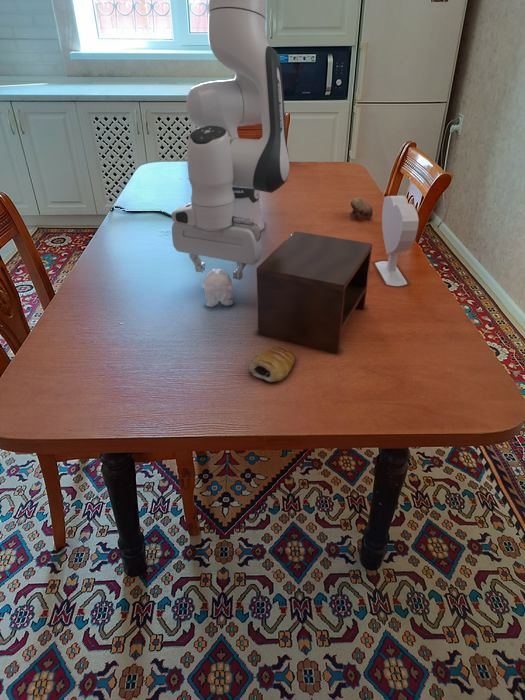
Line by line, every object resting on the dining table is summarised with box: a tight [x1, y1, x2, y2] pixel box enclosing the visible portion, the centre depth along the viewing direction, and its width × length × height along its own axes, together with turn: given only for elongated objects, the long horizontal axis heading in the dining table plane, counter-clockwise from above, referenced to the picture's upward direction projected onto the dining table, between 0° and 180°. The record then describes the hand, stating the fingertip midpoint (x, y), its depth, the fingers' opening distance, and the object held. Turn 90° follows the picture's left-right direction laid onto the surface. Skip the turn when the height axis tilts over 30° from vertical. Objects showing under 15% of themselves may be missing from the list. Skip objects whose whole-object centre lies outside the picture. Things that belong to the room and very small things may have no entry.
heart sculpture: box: [374, 195, 420, 287], centre depth 115 cm, size 16×5×18 cm, turn 4°
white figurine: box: [203, 268, 234, 308], centre depth 110 cm, size 6×8×12 cm
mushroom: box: [348, 197, 374, 220], centre depth 149 cm, size 8×8×6 cm
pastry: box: [248, 345, 296, 383], centre depth 90 cm, size 9×7×4 cm
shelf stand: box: [256, 230, 373, 355], centre depth 99 cm, size 17×19×15 cm
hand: (219, 274), depth 108 cm, fingers open, 8 cm apart
